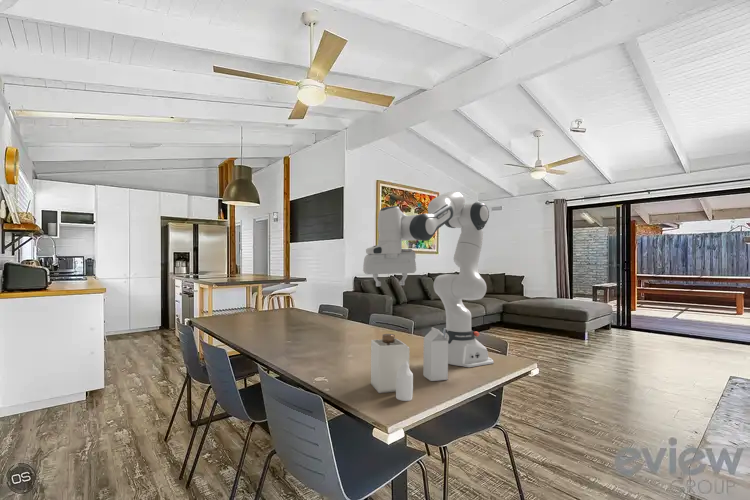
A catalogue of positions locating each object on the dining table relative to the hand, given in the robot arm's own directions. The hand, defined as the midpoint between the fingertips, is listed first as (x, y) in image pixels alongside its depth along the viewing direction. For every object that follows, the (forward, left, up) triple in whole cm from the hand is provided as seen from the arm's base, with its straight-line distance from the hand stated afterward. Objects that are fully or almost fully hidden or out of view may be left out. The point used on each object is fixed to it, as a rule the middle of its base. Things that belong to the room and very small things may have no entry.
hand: (390, 285), depth 141 cm
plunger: (+2, +6, -33) cm, 33 cm away
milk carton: (-19, +1, -36) cm, 41 cm away
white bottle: (0, +17, -36) cm, 40 cm away
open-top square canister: (+1, +6, -36) cm, 36 cm away
